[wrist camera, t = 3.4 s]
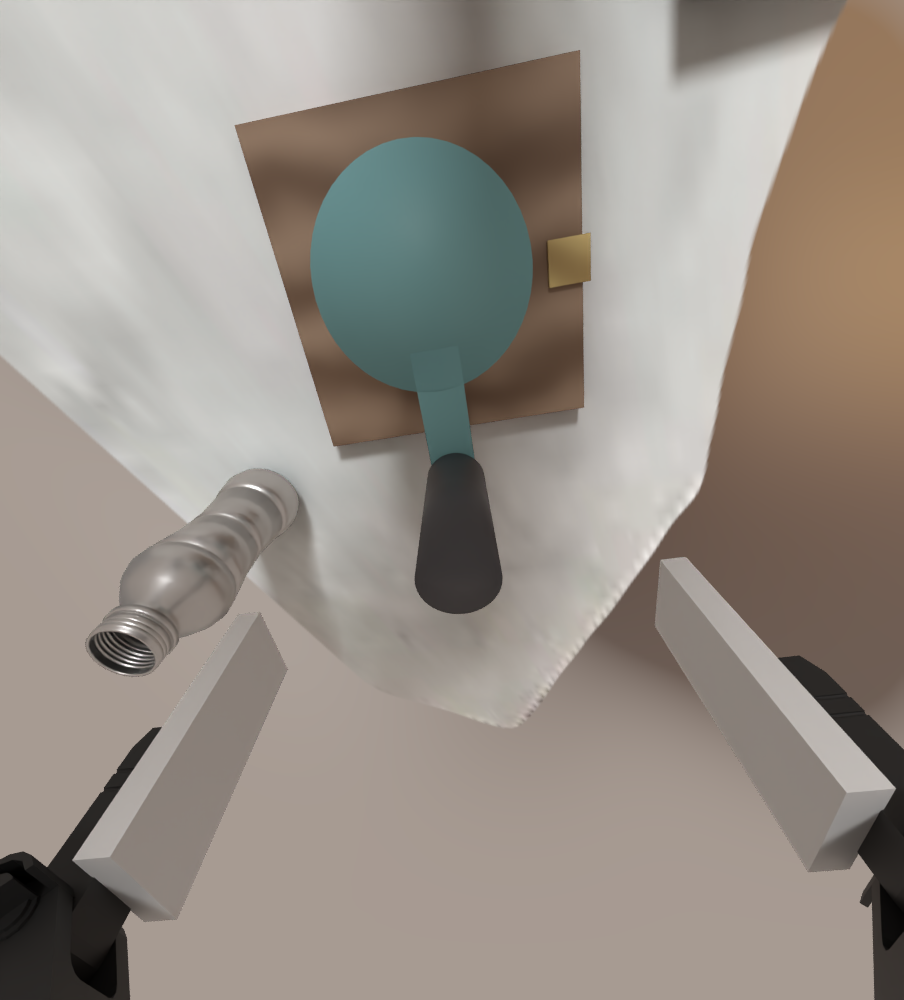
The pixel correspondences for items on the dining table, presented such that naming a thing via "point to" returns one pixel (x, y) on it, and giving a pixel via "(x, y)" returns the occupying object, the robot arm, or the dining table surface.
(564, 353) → the base
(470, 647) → the dining table surface
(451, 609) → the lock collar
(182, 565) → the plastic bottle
